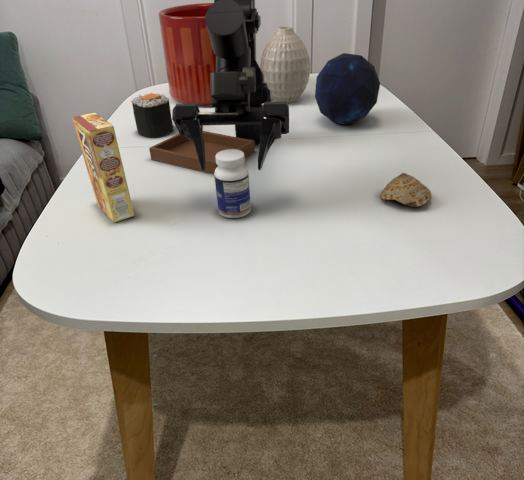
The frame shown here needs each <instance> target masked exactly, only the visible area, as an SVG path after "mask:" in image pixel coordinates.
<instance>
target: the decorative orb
mask: <svg viewBox="0 0 524 480" xmlns="http://www.w3.org/2000/svg"><path fill="white" fill-rule="evenodd" d="M380 87H381V82H380V78H379V76H378V74H377V70H376V68H375V66H374V65H373V63H371V62H370V61H369V60H367V59H366V58H365V57H364V56H363V55H360V54H354V53H346V52H344V53H341V54H338V55H337V56H334V57H333V58H331V59H329V60H327V62H326V63H325V64H324V66H323V67H322V69H321V70H320V71H319V73H318V74H317V76H316V81H315V89H314V98H315V101H316V104H317V108H318V110H319V113H320V114H321V115H322V116H324V117H325V118H327V119H328V120H330V121H331V122H332V123H334V124H339V125H346V126H351V125H353V124H355V123H358V122H359V121H361V120H363V119H365V118H366V117H367V115H368V114H369V113H370V112H371V110H372V109H373V108H374V107H375V105H377V103H378V98H379V92H380Z"/></svg>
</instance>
